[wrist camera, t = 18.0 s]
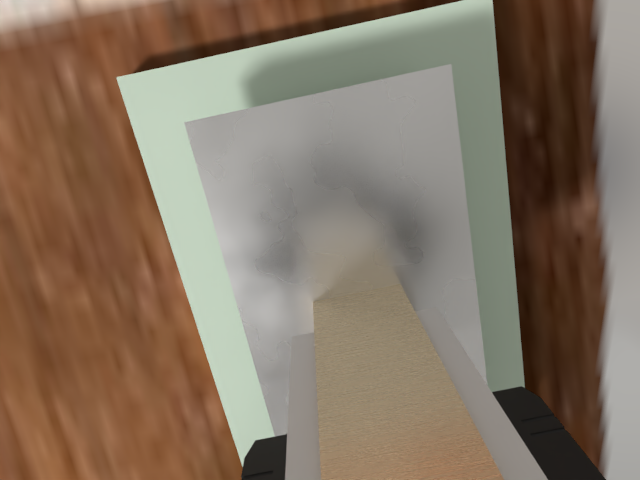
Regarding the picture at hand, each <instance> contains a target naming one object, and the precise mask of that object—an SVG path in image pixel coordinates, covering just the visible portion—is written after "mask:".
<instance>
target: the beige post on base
mask: <svg viewBox="0 0 640 480" xmlns="http://www.w3.org/2000/svg"><path fill="white" fill-rule="evenodd" d="M184 124H185V127H186V131H187V134H188V138H189V141H190V145H191V148H192V152H193V155H194V158H195V162H196V165H197V169H198V172H199V176H200V179H201V183H202V186H203V190H204V193H205V196H206V200H207V203H208V207H209V210H210V214H211V217H212V221H213V224H214V228H215V231H216V234H217V238H218V241H219V245H220V248H221V252H222V255H223V259H224V262H225V266H226V269H227V272H228V276H229V279H230V283H231V286H232V290H233V293H234V297H235V300H236V303H237V307H238V310H239V314H240V317H241V321H242V324H243V328H244V331H245V335H246V338H247V341H248V345H249V348H250V352H251V355H252V359H253V362H254V366H255V369H256V373H257V376H258V379H259V383H260V386H261V390H262V393H263V397H264V400H265V404H266V407H267V411H268V414H269V417H270V421H271V424H272V428H273V431H274V435H275V436H280V435H285V434H287V427H288V406H289V384H290V363H291V342H292V336H297V335H302V334H307V333H312V332H314V339H315V360H316V382H317V403H318V425H319V446H320V467H321V480H504V479H503V477H502V475H501V473H500V471H499V469H498V467H497V465H496V463H495V462H494V460H493V458H492V456H491V454H490V452H489V450H488V448H487V446H486V445H485V443H484V441H483V439H482V437H481V435H480V433H479V431H478V429H477V428H476V426H475V424H474V422H473V420H472V418H471V416H470V414H469V412H468V410H467V409H466V407H465V405H464V403H463V401H462V399H461V397H460V395H459V393H458V392H457V390H456V388H455V386H454V384H453V382H452V380H451V378H450V376H449V375H448V373H447V371H446V369H445V367H444V365H443V363H442V361H441V359H440V358H439V356H438V354H437V352H436V350H435V348H434V346H433V344H432V342H431V341H430V339H429V337H428V335H427V333H426V331H425V329H424V327H423V325H422V323H421V322H420V320H419V318H418V316H417V314H416V312H415V311H420V310H424V309H429V308H434V307H437V308H438V309H439V311H440V313H441V314H442V316H443V317H444V319H445V320H446V322H447V323H448V325H449V327H450V328H451V330H452V331H453V333H454V334H455V336H456V337H457V339H458V341H459V342H460V344H461V345H462V347H463V348H464V350H465V351H466V353H467V355H468V356H469V358H470V359H471V361H472V362H473V364H474V365H475V367H476V369H477V370H478V372H479V373H480V375H481V376H482V378H483V379H484V381H485V383H486V384H487V376H486V367H485V358H484V349H483V340H482V331H481V323H480V314H479V305H478V296H477V287H476V278H475V270H474V261H473V252H472V243H471V234H470V225H469V216H468V208H467V199H466V190H465V181H464V172H463V163H462V154H461V146H460V137H459V128H458V119H457V110H456V101H455V92H454V84H453V75H452V66H451V64H449V65H444V66H439V67H435V68H430V69H426V70H421V71H417V72H412V73H407V74H403V75H398V76H394V77H389V78H385V79H380V80H375V81H371V82H366V83H362V84H357V85H353V86H348V87H343V88H339V89H334V90H330V91H325V92H321V93H316V94H311V95H307V96H302V97H298V98H293V99H289V100H284V101H279V102H275V103H270V104H266V105H261V106H257V107H252V108H247V109H243V110H238V111H234V112H229V113H225V114H220V115H215V116H211V117H206V118H202V119H197V120H193V121H188V122H184ZM487 386H488V385H487Z"/></svg>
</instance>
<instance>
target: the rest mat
mask: <svg viewBox="0 0 640 480" xmlns="http://www.w3.org/2000/svg"><path fill="white" fill-rule="evenodd" d="M449 64H451V66H452V75H453V84H454V92H455V101H456V110H457V119H458V128H459V137H460V146H461V154H462V163H463V172H464V181H465V190H466V199H467V208H468V216H469V225H470V234H471V243H472V252H473V261H474V270H475V278H476V287H477V296H478V305H479V314H480V323H481V331H482V340H483V349H484V358H485V367H486V376H487V385H488V387H489V389H490V390H491V392H495V391H500V390H505V389H510V388H515V387H520V386H522V387H524V388H525V383H524V371H523V359H522V347H521V335H520V323H519V311H518V299H517V287H516V275H515V263H514V251H513V239H512V227H511V215H510V203H509V191H508V179H507V167H506V155H505V143H504V131H503V119H502V107H501V95H500V83H499V71H498V60H497V48H496V36H495V24H494V12H493V0H463V1H458V2H454V3H449V4H445V5H440V6H436V7H431V8H427V9H422V10H418V11H413V12H409V13H404V14H400V15H395V16H391V17H386V18H382V19H377V20H373V21H368V22H364V23H359V24H355V25H350V26H346V27H341V28H337V29H332V30H328V31H323V32H319V33H314V34H310V35H305V36H301V37H296V38H292V39H287V40H283V41H278V42H274V43H269V44H265V45H260V46H256V47H251V48H247V49H242V50H238V51H233V52H229V53H224V54H220V55H215V56H211V57H206V58H202V59H197V60H193V61H188V62H184V63H179V64H175V65H170V66H166V67H161V68H157V69H152V70H148V71H143V72H139V73H134V74H130V75H125V76H121V77H116V78H117V81H118V84H119V87H120V90H121V94H122V97H123V100H124V103H125V106H126V109H127V112H128V115H129V118H130V121H131V124H132V127H133V131H134V134H135V137H136V140H137V143H138V146H139V149H140V152H141V155H142V158H143V161H144V164H145V168H146V171H147V174H148V177H149V180H150V183H151V186H152V189H153V192H154V195H155V198H156V201H157V204H158V208H159V211H160V214H161V217H162V220H163V223H164V226H165V229H166V232H167V235H168V238H169V241H170V245H171V248H172V251H173V254H174V257H175V260H176V263H177V266H178V269H179V272H180V275H181V278H182V282H183V285H184V288H185V291H186V294H187V297H188V300H189V303H190V306H191V309H192V312H193V315H194V319H195V322H196V325H197V328H198V331H199V334H200V337H201V340H202V343H203V346H204V349H205V352H206V356H207V359H208V362H209V365H210V368H211V371H212V374H213V377H214V380H215V383H216V386H217V389H218V393H219V396H220V399H221V402H222V405H223V408H224V411H225V414H226V417H227V420H228V423H229V426H230V430H231V433H232V436H233V439H234V442H235V445H236V448H237V451H238V454H239V457H240V460H241V463H242V467H243V464H244V458H245V456H246V455H247V453H248V451H249V450H250V448H251V446H252V445H253V443H254V442H255V440H260V439H265V438H270V437H275V435H274V431H273V428H272V424H271V421H270V417H269V414H268V411H267V407H266V404H265V400H264V397H263V393H262V390H261V386H260V383H259V379H258V376H257V373H256V369H255V366H254V362H253V359H252V355H251V352H250V348H249V345H248V341H247V338H246V335H245V331H244V328H243V324H242V321H241V317H240V314H239V310H238V307H237V303H236V300H235V297H234V293H233V290H232V286H231V283H230V279H229V276H228V272H227V269H226V266H225V262H224V259H223V255H222V252H221V248H220V245H219V241H218V238H217V234H216V231H215V228H214V224H213V221H212V217H211V214H210V210H209V207H208V203H207V200H206V196H205V193H204V190H203V186H202V183H201V179H200V176H199V172H198V169H197V165H196V162H195V158H194V155H193V152H192V148H191V145H190V141H189V138H188V134H187V131H186V127H185V124H184V122H188V121H193V120H197V119H202V118H206V117H211V116H215V115H220V114H225V113H229V112H234V111H238V110H243V109H247V108H252V107H257V106H261V105H266V104H270V103H275V102H279V101H284V100H289V99H293V98H298V97H302V96H307V95H311V94H316V93H321V92H325V91H330V90H334V89H339V88H343V87H348V86H353V85H357V84H362V83H366V82H371V81H375V80H380V79H385V78H389V77H394V76H398V75H403V74H407V73H412V72H417V71H421V70H426V69H430V68H435V67H439V66H444V65H449Z"/></svg>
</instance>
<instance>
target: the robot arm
mask: <svg viewBox="0 0 640 480" xmlns="http://www.w3.org/2000/svg"><path fill="white" fill-rule="evenodd" d="M415 312H416V314H417V316H418V318H419V320H420V322H421V323H422V325H423V327H424V329H425V331H426V333H427V335H428V337H429V339H430V341H431V342H432V344H433V346H434V348H435V350H436V352H437V354H438V356H439V358H440V359H441V361H442V363H443V365H444V367H445V369H446V371H447V373H448V375H449V376H450V378H451V380H452V382H453V384H454V386H455V388H456V390H457V392H458V393H459V395H460V397H461V399H462V401H463V403H464V405H465V407H466V409H467V410H468V412H469V414H470V416H471V418H472V420H473V422H474V424H475V426H476V428H477V429H478V431H479V433H480V435H481V437H482V439H483V441H484V443H485V445H486V446H487V448H488V450H489V452H490V454H491V456H492V458H493V460H494V462H495V463H496V465H497V467H498V469H499V471H500V473H501V475H502V477H503V479H504V480H606V479H605V478H604V477H603V476H602V474H601V473H600V472H599V471H598V469H597V468H596V467H595V466H594V464H593V463H592V462H591V460H590V459H589V458H588V457H587V455H586V454H585V453H584V452H583V450H582V449H581V448H580V447H579V445H578V444H577V443H576V442H575V440H574V439H573V438H572V437H571V435H570V434H569V433H568V432H567V431H565V429H564V426H563V425H562V424H561V423H560V421H559V420H558V419H557V418H556V417H554V414H553V413H552V411H551V410H550V409H549V408H548V406H547V405H546V404H545V403H544V401H543V400H542V399H541V398H540V397H538V396H537V395H535V394H534V393H532V392H530V391H529V390H527V389H525V388H524V387H522V386H520V387H515V388H510V389H505V390H500V391H495V392H491V390H490V389H489V387H488V386H487V384H486V383H485V381H484V379H483V378H482V376H481V375H480V373H479V372H478V370H477V369H476V367H475V365H474V364H473V362H472V361H471V359H470V358H469V356H468V355H467V353H466V351H465V350H464V348H463V347H462V345H461V344H460V342H459V341H458V339H457V337H456V336H455V334H454V333H453V331H452V330H451V328H450V327H449V325H448V323H447V322H446V320H445V319H444V317H443V316H442V314H441V313H440V311H439V309H438V308H437V307H434V308H429V309H424V310H420V311H415ZM241 477H242V480H321V467H320V446H319V425H318V403H317V382H316V360H315V339H314V332H312V333H307V334H302V335H297V336H292V342H291V363H290V384H289V406H288V427H287V434H285V435H280V436H275V437H270V438H265V439H260V440H255V442H254V443H253V445H252V446H251V448H250V450H249V451H248V453H247V455H246V456H245V458H244V464H243V470H242V476H241Z"/></svg>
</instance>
